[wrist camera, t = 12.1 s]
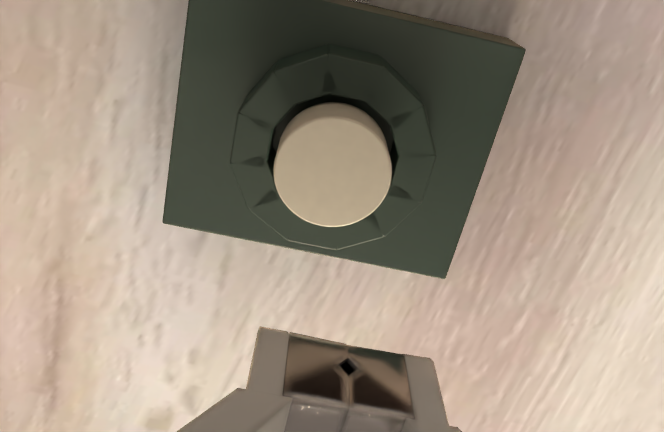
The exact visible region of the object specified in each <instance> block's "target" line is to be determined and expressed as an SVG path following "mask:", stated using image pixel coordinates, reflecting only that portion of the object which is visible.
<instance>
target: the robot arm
mask: <svg viewBox="0 0 664 432" xmlns="http://www.w3.org/2000/svg"><path fill="white" fill-rule="evenodd" d="M177 432H462V431H461V430H460V429H459V428H458V427H453V426H449V423H448V419H447V415H446V411H445V407H444V403H443V399H442V395H441V391H440V386H439V382H438V378H437V374H436V370H435V366H434V362H433V361H432V360H431V359H430V358H426V357H420V356H413V355H407V354H396V353H390V352H385V351H379V350H373V349H368V348H362V347H356V346H351V345H346V344H344V343H339V342H334V341H330V340H325V339H320V338H315V337H311V336H306V335H301V334H296V333H292V332H290V333H288V332H287V331H282V330H276V329H271V328H266V327H259V330H258V333H257V338H256V343H255V348H254V352H253V357H252V362H251V367H250V371H249V376H248V381H247V386H246V389H241V388H237V389H236V390H234V391H233V392H232V393H230V394H229V395H227V396H226V397H224V398H223V399H222V400H220V401H219V402H217V403H216V404H215V405H213V406H212V407H210V408H209V409H208V410H206V411H205V412H203V413H202V414H201V415H199V416H198V417H196V418H195V419H194V420H192V421H191V422H189V423H188V424H187V425H185V426H184V427H182V428H181V429H180V430H178V431H177Z"/></svg>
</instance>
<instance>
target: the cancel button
mask: <svg viewBox="0 0 664 432" xmlns="http://www.w3.org/2000/svg"><path fill="white" fill-rule="evenodd" d="M273 170H274V182H275V186H276V189H277V191H278V194H279V196H280V198H281V199H282V201H283V202H284V204H285V205H286V206H287V207H288V208H289V209H290V210H291V211H292V212H293V213H294V214H296V215H297V216H298V217H300V218H302V219H303V220H305V221H307V222H310V223H312V224H316V225H319V226H326V227H339V226H346V225H350V224H353V223H356V222H358V221H360V220H362V219H364V218H365V217H367V216H369V215H370V214H371V213H372V212H373V211H375V210H376V209H377V208H378V206H379V205H380V204H381V203H382V201H383V200H384V198H385V196H386V194H387V193H388V190H389V187H390V183H391V178H392V164H391V160H390V155H389V151H388V147H387V143H386V140H385V137H384V134H383V132H382V130H381V128H380V127H379V125H378V124H377V123H376V121H375V120H374V119H373V118H372V117H371V116H369V115H368V114H367V113H366V112H364V111H363V110H361V109H359V108H357V107H355V106H352V105H349V104H346V103H339V102H326V103H320V104H316V105H313V106H311V107H308V108H306V109H305V110H303V111H301V112H300V113H299V114H297V115H296V116H295V117H294V118H293V119H292V120H291V121H290V122H289V123H288V125H287V126H286V128H285V129H284V131H283V133H282V136H281V138H280V142H279V145H278V149H277V153H276V157H275V161H274V168H273Z"/></svg>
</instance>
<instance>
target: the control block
mask: <svg viewBox="0 0 664 432" xmlns="http://www.w3.org/2000/svg"><path fill="white" fill-rule="evenodd" d="M525 51H526V49H525V48H523V47H522V46H520V45H518V44H517V43H515V42H513V41H512V40H510V39H509V38H505V37H501V36H497V35H493V34H488V33H484V32H480V31H476V30H472V29H467V28H463V27H459V26H455V25H451V24H446V23H442V22H438V21H434V20H430V19H425V18H421V17H417V16H413V15H409V14H405V13H400V12H396V11H392V10H388V9H384V8H379V7H375V6H371V5H367V4H363V3H358V2H354V1H350V0H189V3H188V11H187V20H186V28H185V37H184V45H183V53H182V62H181V70H180V79H179V87H178V96H177V104H176V112H175V121H174V129H173V138H172V146H171V155H170V163H169V171H168V180H167V188H166V197H165V205H164V214H163V223H164V224H169V225H174V226H179V227H184V228H190V229H195V230H200V231H205V232H210V233H215V234H220V235H225V236H230V237H235V238H240V239H245V240H250V241H255V242H260V243H265V244H270V245H275V246H280V247H285V248H290V249H295V250H300V251H305V252H310V253H315V254H320V255H325V256H330V257H336V258H341V259H346V260H351V261H356V262H361V263H366V264H371V265H376V266H381V267H386V268H391V269H396V270H401V271H406V272H411V273H416V274H421V275H426V276H431V277H436V278H441V279H445V278H446V275H447V272H448V269H449V267H450V264H451V261H452V258H453V255H454V252H455V250H456V247H457V244H458V241H459V238H460V235H461V233H462V230H463V227H464V224H465V221H466V218H467V216H468V213H469V210H470V207H471V204H472V201H473V199H474V196H475V193H476V190H477V187H478V184H479V182H480V179H481V176H482V173H483V170H484V167H485V165H486V162H487V159H488V156H489V153H490V150H491V148H492V145H493V142H494V139H495V136H496V133H497V131H498V128H499V125H500V122H501V119H502V116H503V114H504V111H505V108H506V105H507V102H508V99H509V97H510V94H511V91H512V88H513V85H514V82H515V80H516V77H517V74H518V71H519V68H520V65H521V63H522V60H523V57H524V54H525ZM326 102H339V103H346V104H349V105H352V106H355V107H357V108H359V109H361V110H363V111H364V112H366V113H367V114H368V115H369V116H371V117H372V118H373V119H374V120H375V121H376V123H377V124H378V125H379V127H380V128H381V130H382V132H383V134H384V137H385V140H386V143H387V147H388V151H389V155H390V160H391V164H392V178H391V183H390V187H389V190H388V193H387V194H386V196H385V198H384V200H383V201H382V203H381V204H380V205H379V206H378V208H377V209H376V210H375V211H373V212H372V213H371V214H370V215H369V216H367V217H365V218H364V219H362V220H360V221H358V222H356V223H353V224H350V225H346V226H339V227H326V226H319V225H316V224H312V223H310V222H307V221H305V220H303V219H302V218H300V217H298V216H297V215H296V214H294V213H293V212H292V211H291V210H290V209H289V208H288V207H287V206H286V205H285V204H284V202H283V201H282V199H281V198H280V196H279V194H278V191H277V189H276V186H275V182H274V170H273V168H274V161H275V157H276V153H277V149H278V145H279V142H280V138H281V136H282V133H283V131H284V129H285V128H286V126H287V125H288V123H289V122H290V121H291V120H292V119H293V118H294V117H295V116H296V115H297V114H299V113H300V112H301V111H303V110H305V109H306V108H308V107H311V106H313V105H316V104H320V103H326Z"/></svg>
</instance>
